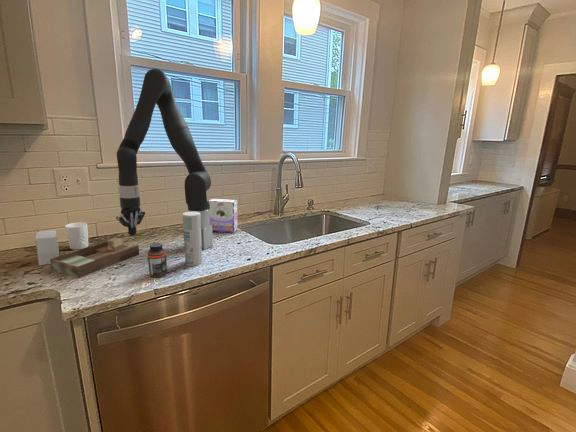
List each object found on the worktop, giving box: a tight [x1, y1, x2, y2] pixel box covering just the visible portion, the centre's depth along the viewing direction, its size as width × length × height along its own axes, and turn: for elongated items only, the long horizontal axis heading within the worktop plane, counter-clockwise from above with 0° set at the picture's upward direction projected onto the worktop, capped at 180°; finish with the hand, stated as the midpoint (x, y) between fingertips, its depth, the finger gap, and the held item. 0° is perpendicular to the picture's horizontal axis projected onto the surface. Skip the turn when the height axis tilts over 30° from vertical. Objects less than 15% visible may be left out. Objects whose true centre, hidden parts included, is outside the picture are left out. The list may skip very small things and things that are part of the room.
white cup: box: [64, 221, 90, 251], centre depth 135 cm, size 8×8×10 cm
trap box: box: [50, 241, 140, 279], centre depth 122 cm, size 15×25×4 cm, turn 155°
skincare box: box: [34, 229, 60, 266], centre depth 121 cm, size 10×6×10 cm, turn 35°
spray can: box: [182, 211, 203, 267], centre depth 121 cm, size 6×6×20 cm
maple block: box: [106, 237, 125, 251], centre depth 128 cm, size 4×4×4 cm
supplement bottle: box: [147, 242, 168, 278], centre depth 112 cm, size 6×6×11 cm
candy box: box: [207, 198, 238, 234], centre depth 164 cm, size 14×6×16 cm, turn 80°
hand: (132, 235), depth 136 cm, fingers closed
